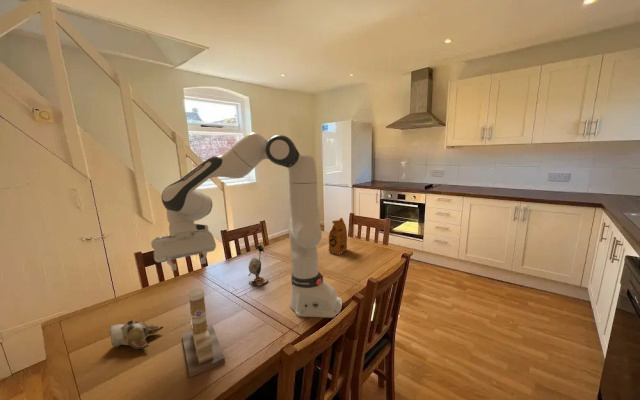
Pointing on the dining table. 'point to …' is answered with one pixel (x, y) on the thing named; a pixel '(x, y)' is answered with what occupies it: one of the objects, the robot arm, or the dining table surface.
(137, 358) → the dining table surface
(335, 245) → the coffee package
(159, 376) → the dining table surface
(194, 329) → the sprinkles bottle
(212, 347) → the ridge stand
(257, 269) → the bird figurine
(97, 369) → the dining table surface
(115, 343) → the ceramic sculpture
